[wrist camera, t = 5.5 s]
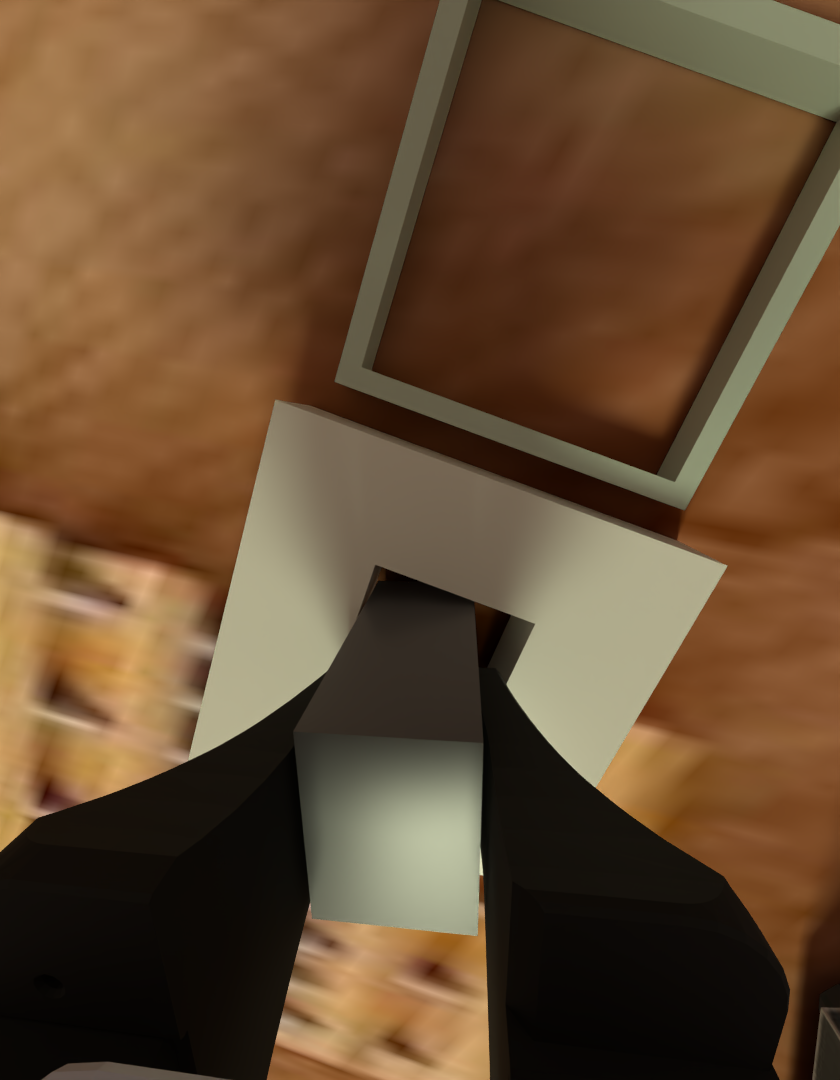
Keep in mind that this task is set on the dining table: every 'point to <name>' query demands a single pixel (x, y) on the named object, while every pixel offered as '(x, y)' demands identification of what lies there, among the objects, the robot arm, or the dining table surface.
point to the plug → (396, 767)
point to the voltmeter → (828, 1036)
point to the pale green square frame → (823, 205)
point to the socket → (446, 582)
